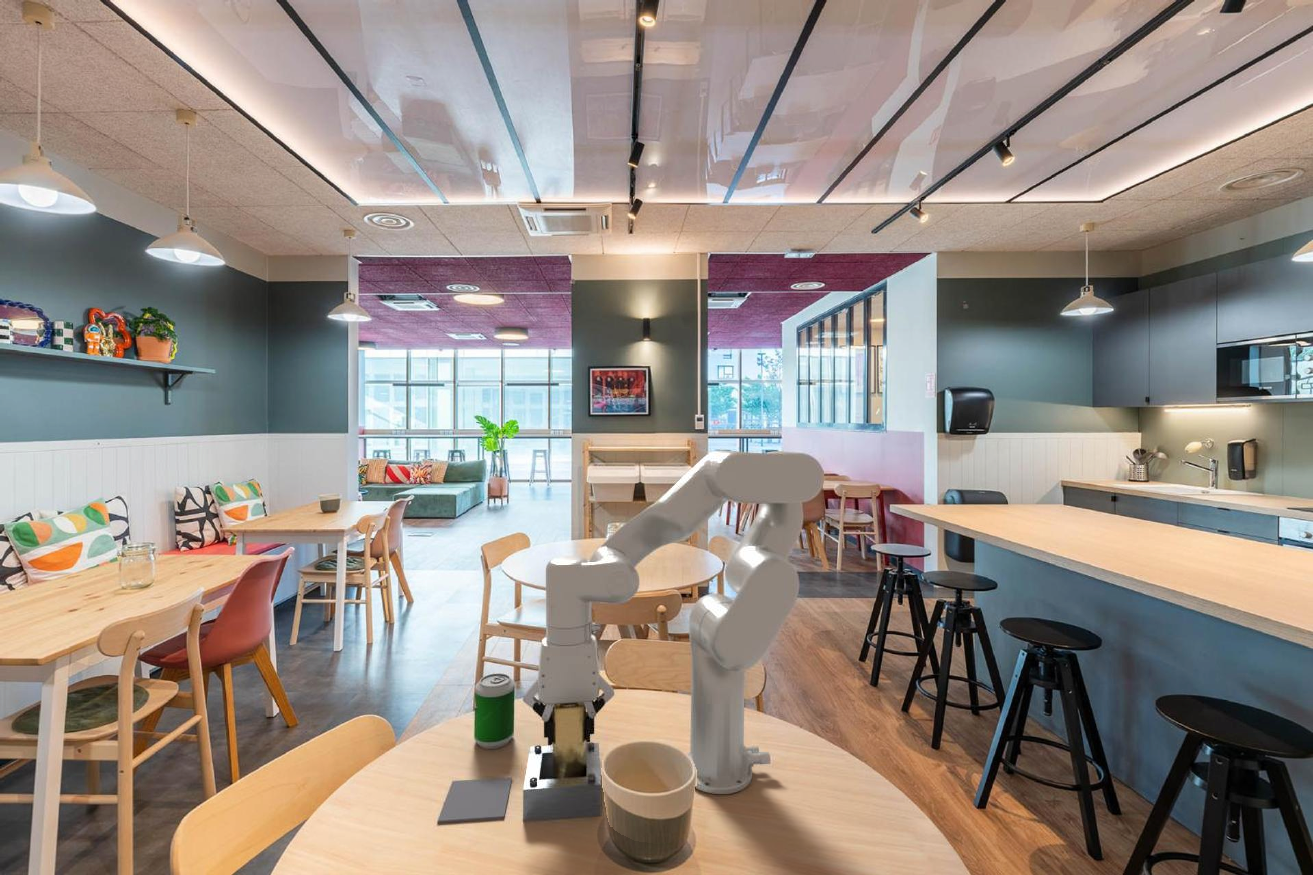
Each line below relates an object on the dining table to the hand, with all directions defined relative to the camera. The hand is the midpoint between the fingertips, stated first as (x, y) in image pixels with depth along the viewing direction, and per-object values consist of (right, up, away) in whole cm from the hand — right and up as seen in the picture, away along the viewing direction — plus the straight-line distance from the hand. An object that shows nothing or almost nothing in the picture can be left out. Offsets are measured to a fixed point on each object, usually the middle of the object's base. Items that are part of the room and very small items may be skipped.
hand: (569, 738), depth 94 cm
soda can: (-17, -9, +16) cm, 25 cm away
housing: (-1, -9, 0) cm, 9 cm away
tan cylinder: (0, -7, 0) cm, 7 cm away
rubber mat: (-15, -9, -2) cm, 18 cm away
